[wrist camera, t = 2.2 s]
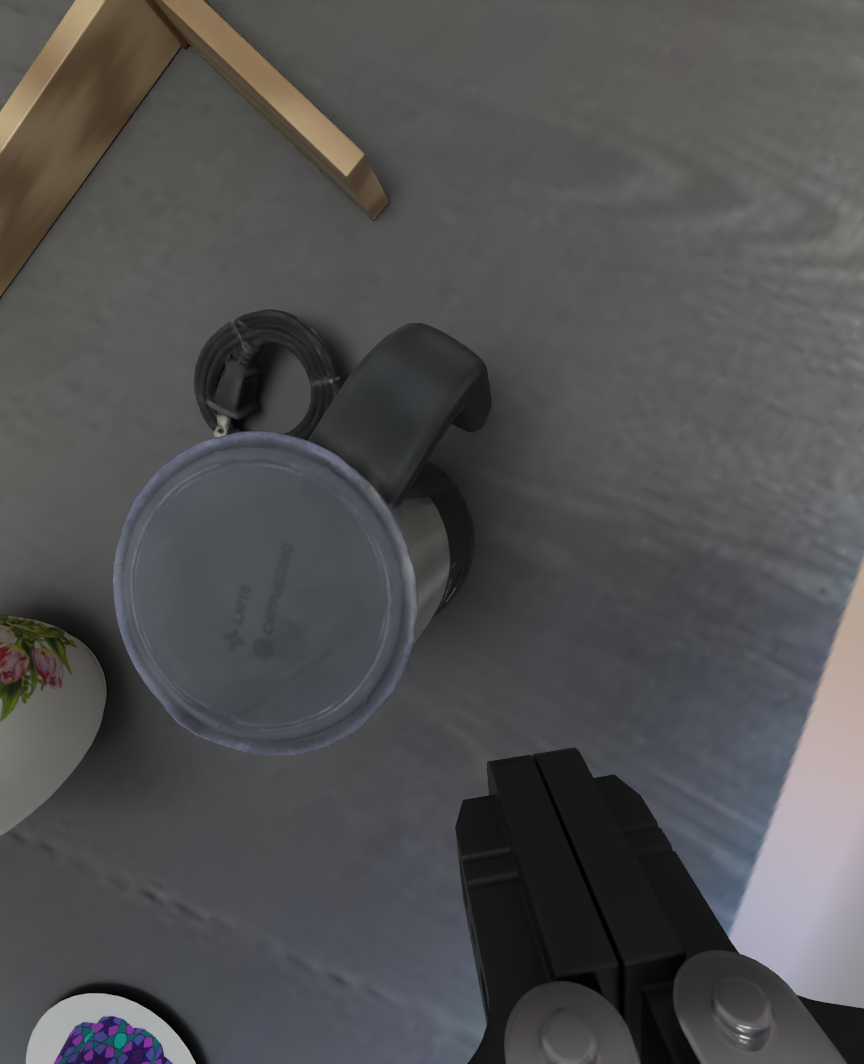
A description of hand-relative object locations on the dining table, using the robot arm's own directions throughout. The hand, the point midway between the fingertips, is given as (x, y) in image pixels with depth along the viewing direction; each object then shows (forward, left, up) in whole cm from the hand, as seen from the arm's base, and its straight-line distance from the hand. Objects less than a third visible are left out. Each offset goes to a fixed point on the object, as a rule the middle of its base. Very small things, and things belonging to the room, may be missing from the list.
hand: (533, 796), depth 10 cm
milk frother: (-3, +11, -20) cm, 23 cm away
